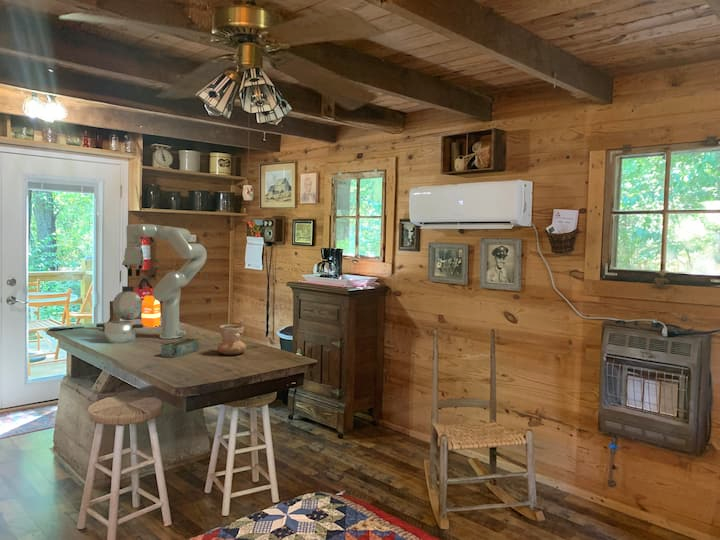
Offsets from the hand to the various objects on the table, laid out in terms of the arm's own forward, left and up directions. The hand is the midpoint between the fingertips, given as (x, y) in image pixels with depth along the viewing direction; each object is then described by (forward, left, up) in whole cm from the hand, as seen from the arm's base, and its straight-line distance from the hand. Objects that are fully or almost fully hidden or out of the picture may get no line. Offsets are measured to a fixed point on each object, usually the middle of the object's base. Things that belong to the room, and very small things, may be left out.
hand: (134, 275), depth 328 cm
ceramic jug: (-70, +45, -36) cm, 91 cm away
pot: (0, +19, -35) cm, 40 cm away
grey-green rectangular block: (-44, +47, -36) cm, 74 cm away
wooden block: (+20, -12, -35) cm, 42 cm away
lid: (0, +10, -15) cm, 18 cm away
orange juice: (+2, -29, -35) cm, 46 cm away
